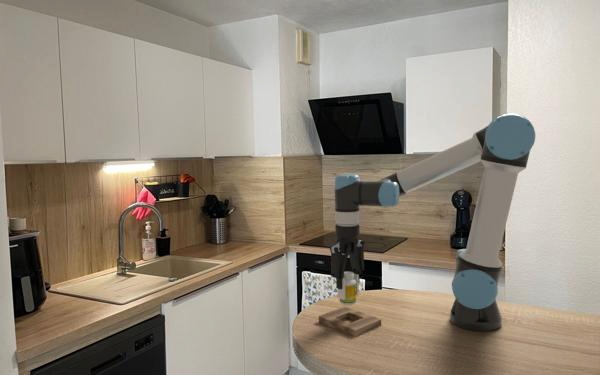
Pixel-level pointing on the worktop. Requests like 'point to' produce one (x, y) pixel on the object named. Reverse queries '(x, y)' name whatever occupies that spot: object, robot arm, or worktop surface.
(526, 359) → the worktop surface
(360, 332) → the socket board
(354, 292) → the supplement bottle
